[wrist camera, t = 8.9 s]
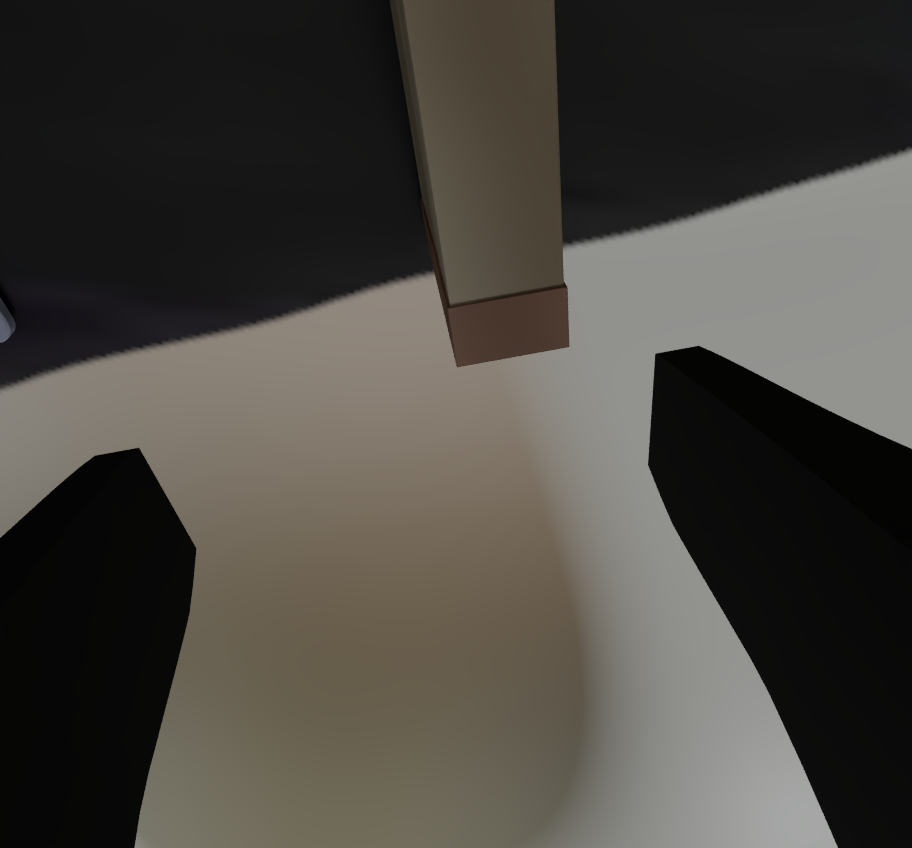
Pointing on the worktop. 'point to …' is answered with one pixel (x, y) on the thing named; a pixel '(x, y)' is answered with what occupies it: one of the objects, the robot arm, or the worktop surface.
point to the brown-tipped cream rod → (488, 168)
